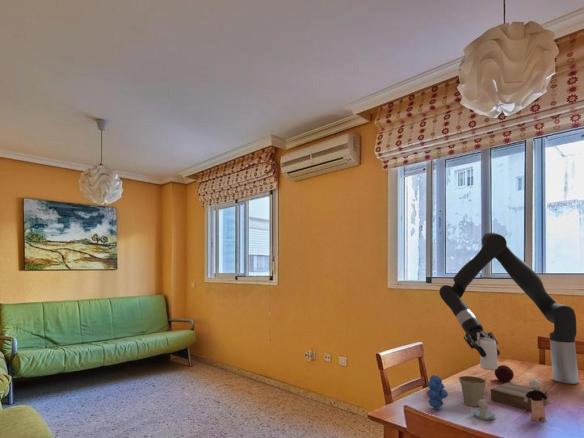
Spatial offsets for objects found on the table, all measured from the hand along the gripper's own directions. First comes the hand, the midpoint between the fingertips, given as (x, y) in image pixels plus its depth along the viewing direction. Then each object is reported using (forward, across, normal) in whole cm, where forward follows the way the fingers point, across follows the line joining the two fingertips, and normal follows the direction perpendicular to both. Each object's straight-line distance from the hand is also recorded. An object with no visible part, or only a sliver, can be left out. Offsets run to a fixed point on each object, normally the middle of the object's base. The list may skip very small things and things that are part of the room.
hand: (491, 355), depth 159 cm
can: (+3, 0, +5) cm, 6 cm away
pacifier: (+26, -26, -6) cm, 37 cm away
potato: (+4, +13, +15) cm, 21 cm away
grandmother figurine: (+30, -10, -11) cm, 34 cm away
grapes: (+18, -37, 0) cm, 41 cm away
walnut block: (+19, -2, 0) cm, 20 cm away
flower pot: (+17, -20, +2) cm, 27 cm away
